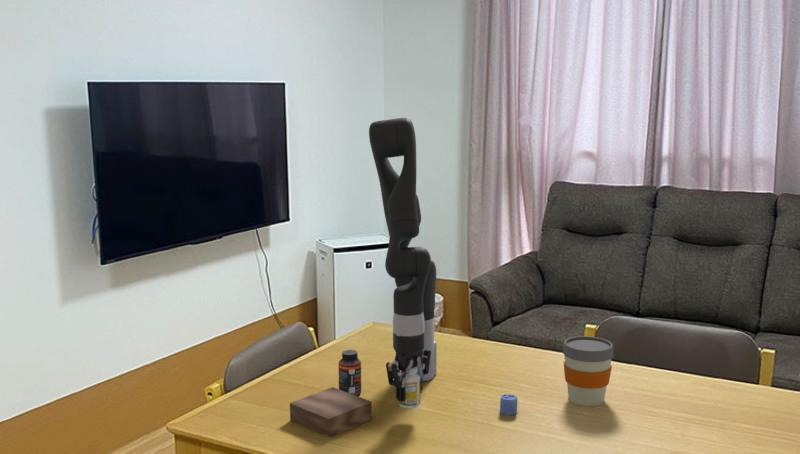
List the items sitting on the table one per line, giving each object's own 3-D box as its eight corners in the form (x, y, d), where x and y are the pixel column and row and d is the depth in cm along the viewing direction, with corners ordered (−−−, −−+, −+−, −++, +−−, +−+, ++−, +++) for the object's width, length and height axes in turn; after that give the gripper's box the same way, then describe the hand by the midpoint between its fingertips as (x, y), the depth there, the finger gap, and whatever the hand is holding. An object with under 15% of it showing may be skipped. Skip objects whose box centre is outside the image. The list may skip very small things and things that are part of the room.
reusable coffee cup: (615, 394, 217) (618, 339, 214) (605, 412, 206) (608, 354, 203) (567, 387, 222) (569, 333, 219) (556, 404, 211) (557, 347, 208)
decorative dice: (516, 415, 204) (516, 400, 203) (499, 414, 204) (500, 399, 204) (517, 409, 208) (517, 394, 207) (501, 408, 208) (501, 393, 208)
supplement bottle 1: (358, 398, 215) (357, 356, 213) (336, 396, 216) (335, 355, 214) (363, 389, 221) (363, 349, 219) (342, 388, 222) (341, 347, 220)
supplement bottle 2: (411, 410, 197) (410, 372, 195) (393, 405, 200) (393, 367, 198) (424, 403, 201) (424, 366, 199) (407, 398, 204) (407, 361, 202)
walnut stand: (332, 403, 211) (332, 387, 211) (372, 419, 202) (371, 401, 201) (290, 420, 201) (289, 403, 200) (329, 437, 192) (328, 419, 191)
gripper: (416, 319, 204) (417, 384, 208) (376, 334, 194) (377, 401, 197) (440, 325, 200) (440, 391, 203) (400, 340, 189) (400, 410, 192)
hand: (409, 396), depth 200 cm, fingers closed on supplement bottle 2, 5 cm apart
